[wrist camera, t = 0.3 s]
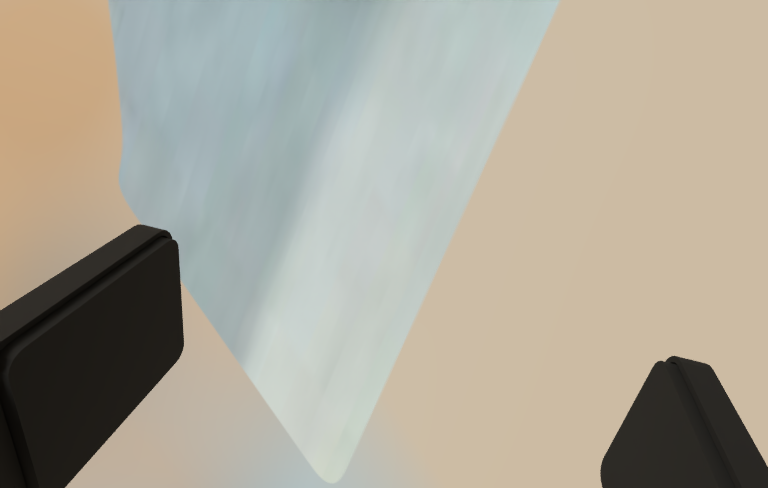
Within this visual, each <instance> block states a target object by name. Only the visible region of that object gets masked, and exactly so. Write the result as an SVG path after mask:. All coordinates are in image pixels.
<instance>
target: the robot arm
mask: <svg viewBox="0 0 768 488" xmlns="http://www.w3.org/2000/svg"><path fill="white" fill-rule="evenodd" d="M183 337H184V336H183V319H182V301H181V284H180V267H179V249H178V244H177V242H176V241H175V240H173V239H172V236H171V234H170V233H169V232H168V231H166V230H162V229H158V228H154V227H150V226H146V225H136V226H134V227H132V228H131V229H129V230H127V231H126V232H124V233H123V234H121V235H120V236H118V237H117V238H115V239H113V240H112V241H110V242H108V243H107V244H105V245H104V246H102V247H101V248H99V249H97V250H96V251H94V252H93V253H91V254H89V255H88V256H86V257H85V258H83V259H81V260H80V261H78V262H77V263H75V264H73V265H72V266H70V267H69V268H67V269H66V270H64V271H62V272H61V273H59V274H58V275H56V276H54V277H53V278H51V279H50V280H48V281H47V282H45V283H43V284H42V285H40V286H39V287H37V288H35V289H34V290H32V291H31V292H29V293H27V294H26V295H24V296H23V297H21V298H19V299H18V300H16V301H15V302H13V303H12V304H10V305H8V306H7V307H5V308H4V309H2V310H0V488H65V487H66V486H67V484H68V483H69V482H70V481H71V480H72V479H73V478H74V477H75V476H76V474H77V473H78V472H79V471H80V470H81V469H82V468H83V467H84V465H85V464H86V463H87V462H88V461H89V460H90V459H91V457H92V456H93V455H94V454H95V453H96V452H97V451H98V450H99V449H100V447H101V446H102V445H103V444H104V443H105V442H106V441H107V439H108V438H109V437H110V436H111V435H112V434H113V433H114V432H115V431H116V429H117V428H118V427H119V426H120V425H121V424H122V423H123V421H124V420H125V419H126V418H127V417H128V416H129V415H130V414H131V412H132V411H133V410H134V409H135V408H136V407H137V406H138V405H139V403H140V402H141V401H142V400H143V399H144V398H145V397H146V396H147V394H148V393H149V392H150V391H151V390H152V389H153V388H154V387H155V385H156V384H157V383H158V382H159V381H160V380H161V379H162V378H163V376H164V375H165V374H166V373H167V372H168V371H169V370H170V368H171V367H172V366H173V365H174V364H175V363H176V362H177V360H178V359H179V357H180V355H181V353H182V351H183V347H184V338H183ZM601 482H602V487H603V488H768V467H767V465H766V463H765V461H764V460H763V458H762V456H761V454H760V452H759V451H758V449H757V447H756V445H755V444H754V442H753V440H752V438H751V436H750V435H749V433H748V431H747V429H746V427H745V426H744V424H743V422H742V420H741V419H740V417H739V415H738V413H737V411H736V410H735V408H734V406H733V404H732V403H731V401H730V399H729V397H728V395H727V394H726V392H725V390H724V388H723V386H722V385H721V383H720V381H719V380H718V378H717V376H716V374H715V372H714V370H713V369H712V368H711V366H710V365H708V364H705V363H701V362H697V361H693V360H689V359H685V358H680V357H677V356H672V357H669V358H668V359H667V360H666V362H663V361H658V362H657V363H655V365H654V367H653V368H652V370H651V372H650V374H649V375H648V377H647V379H646V381H645V383H644V385H643V386H642V388H641V390H640V392H639V394H638V396H637V397H636V399H635V401H634V403H633V405H632V407H631V408H630V410H629V412H628V414H627V416H626V418H625V420H624V421H623V423H622V425H621V427H620V429H619V431H618V432H617V434H616V436H615V438H614V440H613V442H612V443H611V445H610V447H609V449H608V451H607V453H606V454H605V456H604V458H603V461H602V465H601Z"/></svg>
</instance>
